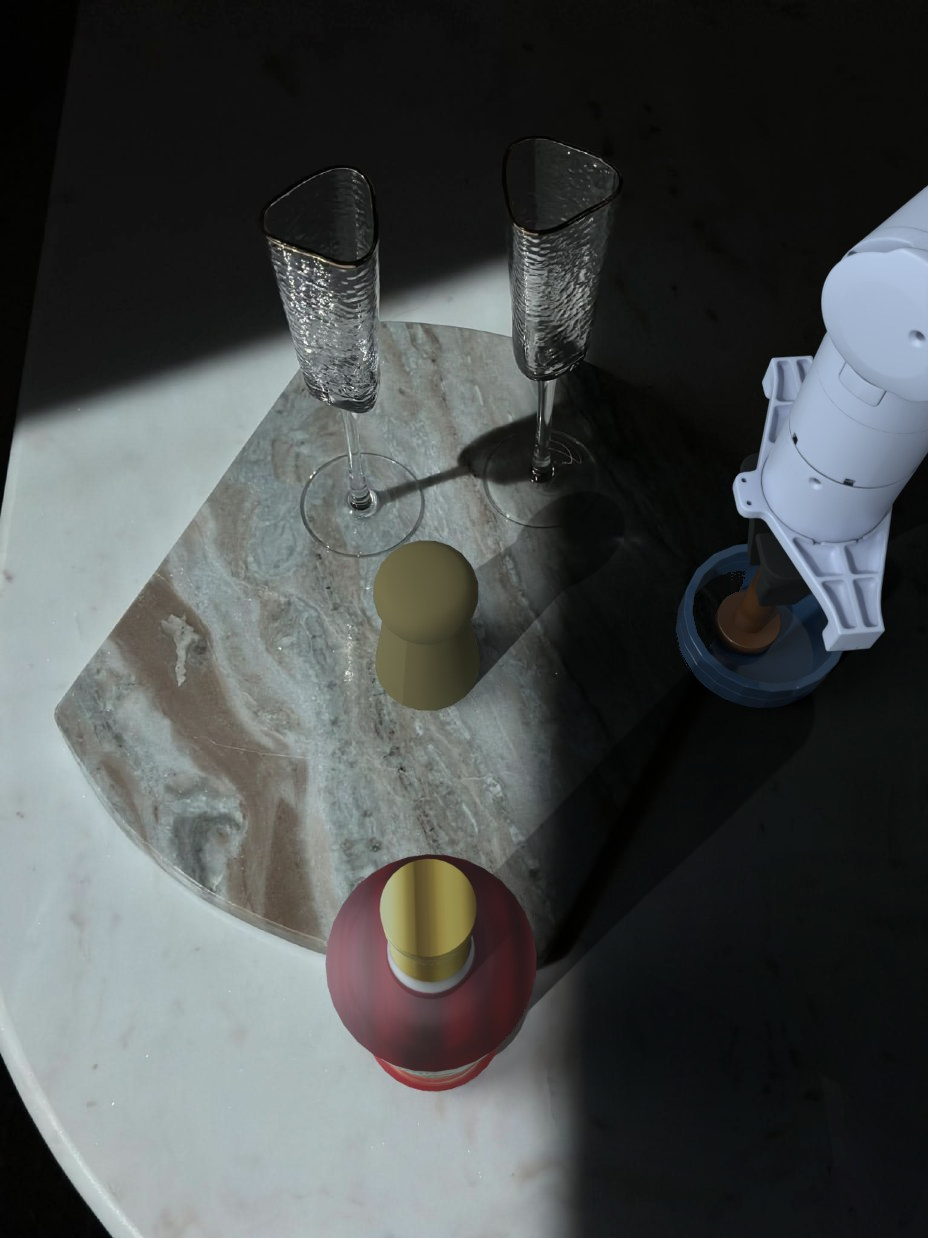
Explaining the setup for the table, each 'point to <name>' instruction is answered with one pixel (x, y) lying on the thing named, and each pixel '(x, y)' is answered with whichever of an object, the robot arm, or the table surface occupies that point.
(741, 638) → the pestle
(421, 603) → the cork
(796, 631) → the bowl
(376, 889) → the liquor
